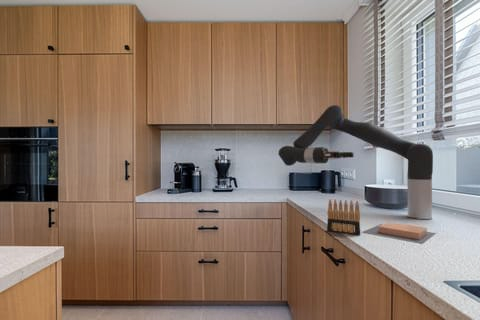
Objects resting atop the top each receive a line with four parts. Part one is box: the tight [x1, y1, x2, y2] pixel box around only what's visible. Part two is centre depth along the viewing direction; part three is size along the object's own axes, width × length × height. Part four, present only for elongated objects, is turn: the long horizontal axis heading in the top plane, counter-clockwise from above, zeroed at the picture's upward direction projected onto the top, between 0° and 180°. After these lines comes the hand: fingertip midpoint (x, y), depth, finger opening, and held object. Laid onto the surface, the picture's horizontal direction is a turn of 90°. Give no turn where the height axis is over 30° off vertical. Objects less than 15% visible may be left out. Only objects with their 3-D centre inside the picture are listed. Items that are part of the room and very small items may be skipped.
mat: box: [360, 223, 437, 245], centre depth 94 cm, size 18×18×1 cm
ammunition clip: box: [326, 198, 361, 236], centre depth 94 cm, size 11×2×12 cm, turn 60°
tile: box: [377, 221, 428, 239], centre depth 93 cm, size 10×2×12 cm
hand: (352, 154), depth 115 cm, fingers closed
